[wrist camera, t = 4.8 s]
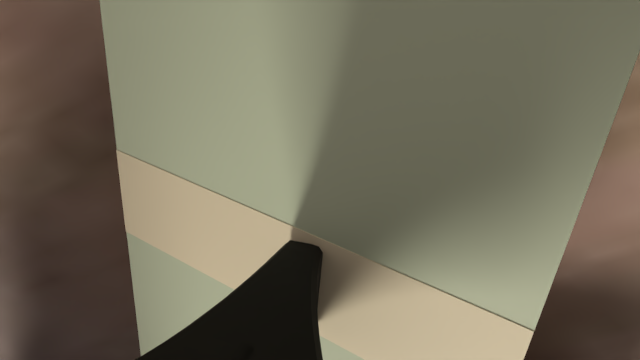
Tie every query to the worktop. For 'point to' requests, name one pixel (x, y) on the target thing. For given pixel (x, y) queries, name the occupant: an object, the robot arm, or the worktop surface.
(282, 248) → the robot arm
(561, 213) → the lid
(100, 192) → the worktop surface
